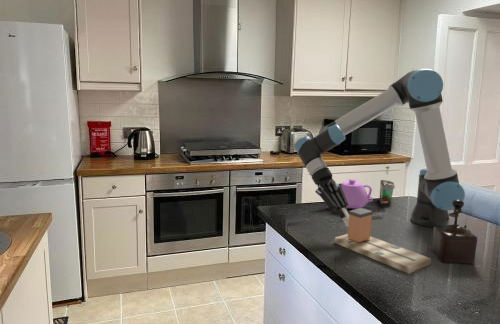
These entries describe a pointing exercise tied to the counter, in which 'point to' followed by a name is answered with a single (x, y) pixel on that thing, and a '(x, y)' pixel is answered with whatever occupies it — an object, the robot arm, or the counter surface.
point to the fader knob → (359, 224)
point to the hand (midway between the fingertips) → (350, 224)
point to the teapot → (356, 194)
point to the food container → (386, 191)
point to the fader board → (386, 253)
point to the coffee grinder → (454, 241)
